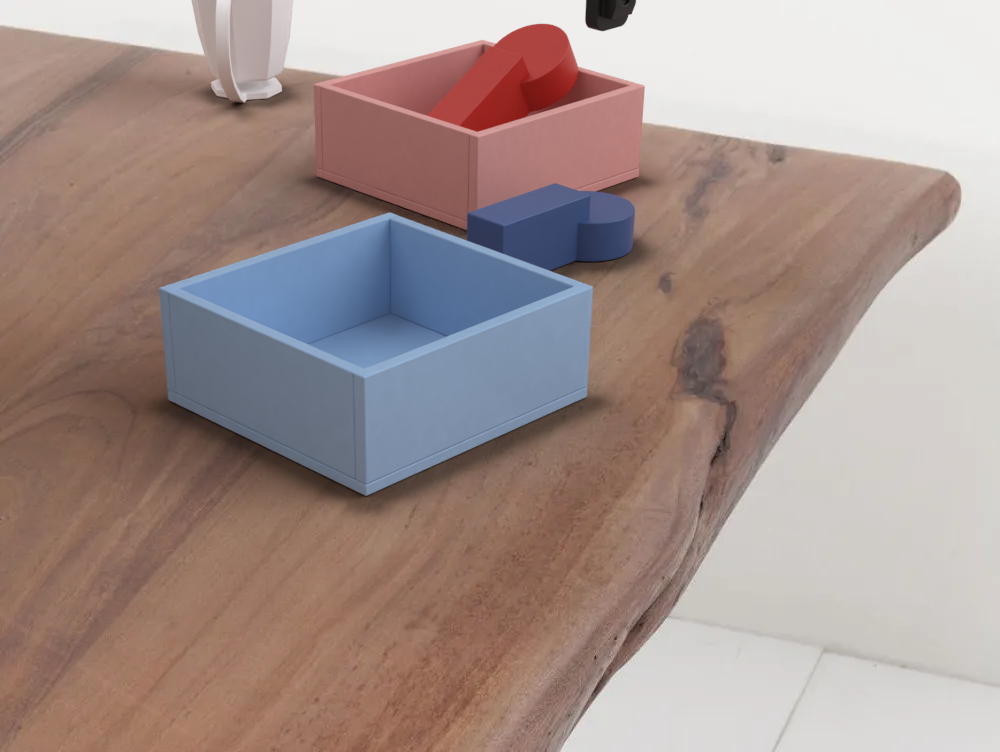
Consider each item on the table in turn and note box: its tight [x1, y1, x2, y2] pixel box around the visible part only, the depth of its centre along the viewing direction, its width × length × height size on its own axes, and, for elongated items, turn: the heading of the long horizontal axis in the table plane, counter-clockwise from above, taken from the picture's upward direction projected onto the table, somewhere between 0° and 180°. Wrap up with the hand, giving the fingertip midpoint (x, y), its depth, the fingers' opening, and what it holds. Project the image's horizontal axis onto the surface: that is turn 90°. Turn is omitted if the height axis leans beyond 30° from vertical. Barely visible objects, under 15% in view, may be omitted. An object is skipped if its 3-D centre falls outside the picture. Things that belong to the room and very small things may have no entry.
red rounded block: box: [427, 23, 579, 132], centre depth 103 cm, size 5×10×3 cm, turn 137°
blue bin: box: [158, 211, 594, 497], centre depth 79 cm, size 12×13×5 cm
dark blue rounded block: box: [466, 183, 636, 271], centre depth 94 cm, size 5×10×3 cm, turn 137°
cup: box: [191, 0, 294, 104], centre depth 113 cm, size 7×10×8 cm
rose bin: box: [313, 39, 646, 231], centre depth 103 cm, size 12×13×5 cm
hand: (536, 8), depth 87 cm, fingers open, 8 cm apart
